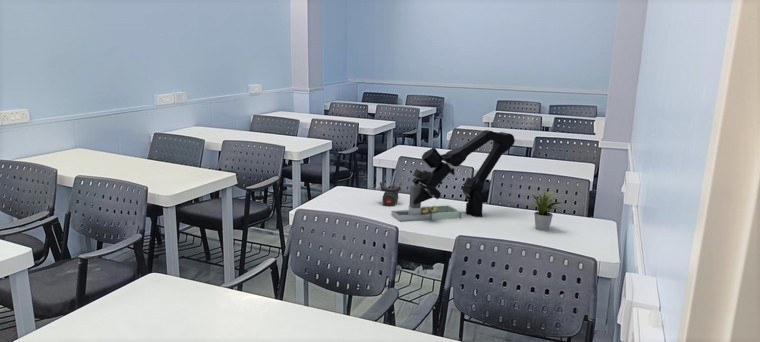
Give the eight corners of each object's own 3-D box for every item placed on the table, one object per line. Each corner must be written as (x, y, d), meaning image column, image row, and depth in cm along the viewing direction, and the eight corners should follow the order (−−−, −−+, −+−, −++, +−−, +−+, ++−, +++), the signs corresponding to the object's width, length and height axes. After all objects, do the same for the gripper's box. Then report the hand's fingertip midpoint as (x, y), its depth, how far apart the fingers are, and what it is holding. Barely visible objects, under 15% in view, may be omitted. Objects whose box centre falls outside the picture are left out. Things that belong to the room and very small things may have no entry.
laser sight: (402, 197, 263) (403, 177, 261) (399, 208, 241) (400, 187, 239) (382, 196, 264) (383, 176, 262) (377, 207, 242) (378, 185, 240)
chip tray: (448, 210, 236) (448, 205, 236) (460, 218, 225) (461, 212, 225) (421, 212, 232) (421, 206, 232) (432, 219, 221) (432, 213, 221)
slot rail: (448, 212, 236) (448, 206, 236) (460, 219, 225) (461, 213, 225) (390, 215, 228) (390, 210, 228) (400, 223, 217) (400, 217, 216)
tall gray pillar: (417, 215, 227) (418, 184, 225) (420, 217, 224) (422, 186, 221) (408, 215, 226) (409, 185, 224) (411, 217, 222) (413, 187, 220)
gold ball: (426, 213, 229) (434, 215, 230) (430, 215, 225) (438, 217, 226) (428, 204, 228) (437, 206, 230) (432, 206, 225) (441, 208, 226)
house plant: (533, 235, 206) (537, 193, 203) (515, 225, 219) (518, 185, 216) (566, 233, 210) (570, 192, 207) (546, 223, 223) (549, 184, 220)
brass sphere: (418, 215, 228) (426, 214, 229) (421, 218, 224) (430, 216, 225) (417, 206, 227) (426, 205, 228) (421, 209, 223) (430, 207, 224)
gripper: (417, 158, 231) (392, 185, 229) (434, 166, 213) (407, 195, 212) (433, 176, 235) (409, 202, 233) (452, 184, 217) (425, 213, 216)
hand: (412, 202), depth 223 cm, fingers closed on tall gray pillar, 4 cm apart
